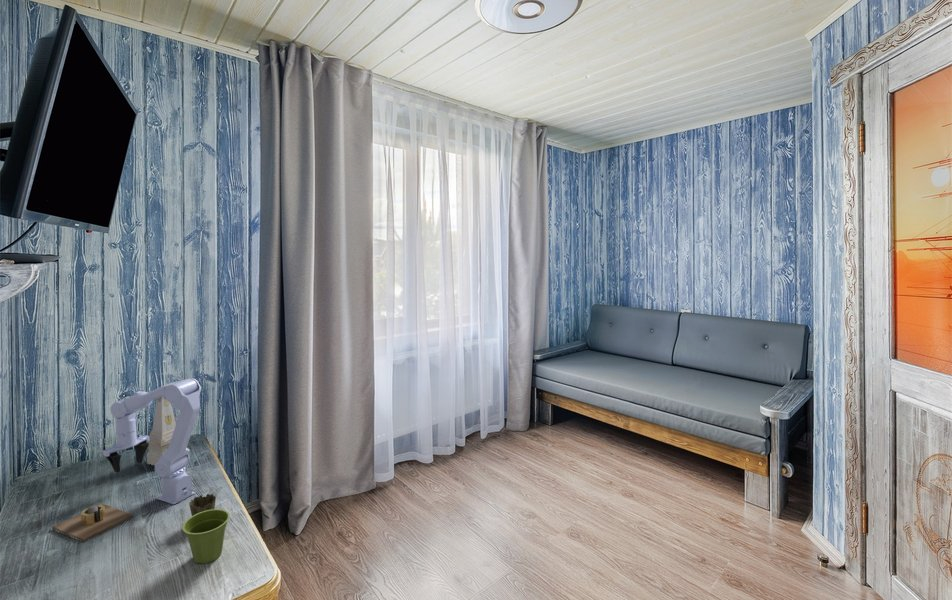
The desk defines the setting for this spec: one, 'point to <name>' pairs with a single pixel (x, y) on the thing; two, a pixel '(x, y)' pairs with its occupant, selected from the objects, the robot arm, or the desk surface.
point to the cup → (202, 504)
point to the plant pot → (206, 534)
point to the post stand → (88, 532)
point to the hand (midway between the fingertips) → (128, 466)
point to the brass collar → (92, 516)
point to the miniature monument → (161, 430)
